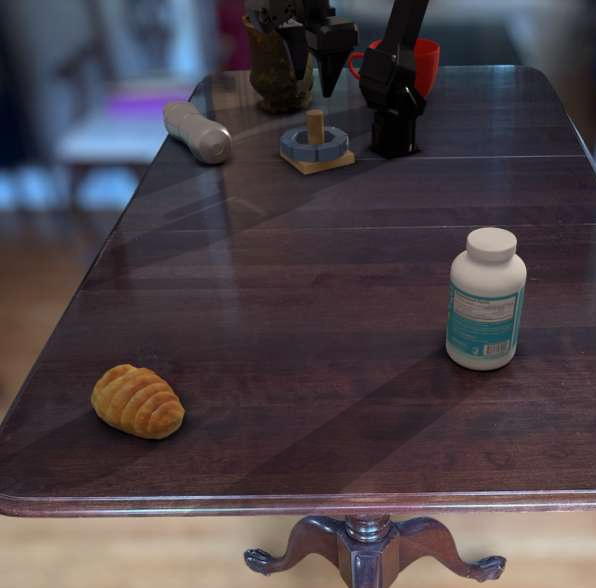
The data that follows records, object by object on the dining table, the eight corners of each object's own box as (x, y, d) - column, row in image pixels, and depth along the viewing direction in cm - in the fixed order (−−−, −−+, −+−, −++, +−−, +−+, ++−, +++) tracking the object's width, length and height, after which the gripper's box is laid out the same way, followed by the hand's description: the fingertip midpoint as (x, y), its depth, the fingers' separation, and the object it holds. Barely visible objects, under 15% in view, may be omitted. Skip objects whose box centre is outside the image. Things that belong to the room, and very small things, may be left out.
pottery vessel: (270, 82, 147) (260, -29, 134) (323, 83, 146) (317, -29, 133) (244, 126, 128) (229, 1, 115) (304, 127, 127) (295, 2, 114)
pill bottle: (469, 324, 80) (481, 213, 71) (527, 349, 77) (546, 235, 68) (431, 355, 76) (437, 241, 67) (490, 383, 72) (505, 266, 64)
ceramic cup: (351, 91, 142) (349, 36, 135) (436, 92, 141) (438, 37, 135) (346, 114, 132) (345, 56, 126) (438, 115, 132) (441, 56, 125)
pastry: (204, 417, 69) (197, 386, 66) (148, 456, 65) (139, 426, 62) (142, 380, 73) (134, 350, 71) (86, 415, 69) (75, 384, 67)
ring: (328, 133, 121) (327, 121, 120) (358, 153, 114) (358, 141, 113) (272, 145, 117) (271, 133, 116) (300, 167, 110) (299, 154, 109)
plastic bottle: (231, 121, 111) (185, 87, 123) (190, 134, 108) (148, 98, 121) (240, 160, 115) (195, 123, 128) (202, 174, 113) (160, 135, 126)
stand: (328, 145, 121) (326, 99, 116) (354, 163, 115) (353, 115, 110) (280, 155, 118) (276, 109, 113) (304, 174, 112) (301, 126, 107)
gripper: (222, -44, 96) (237, 79, 106) (277, -19, 83) (287, 117, 94) (298, -51, 100) (305, 68, 110) (361, -28, 87) (362, 103, 98)
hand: (313, 88), depth 103 cm, fingers open, 9 cm apart
